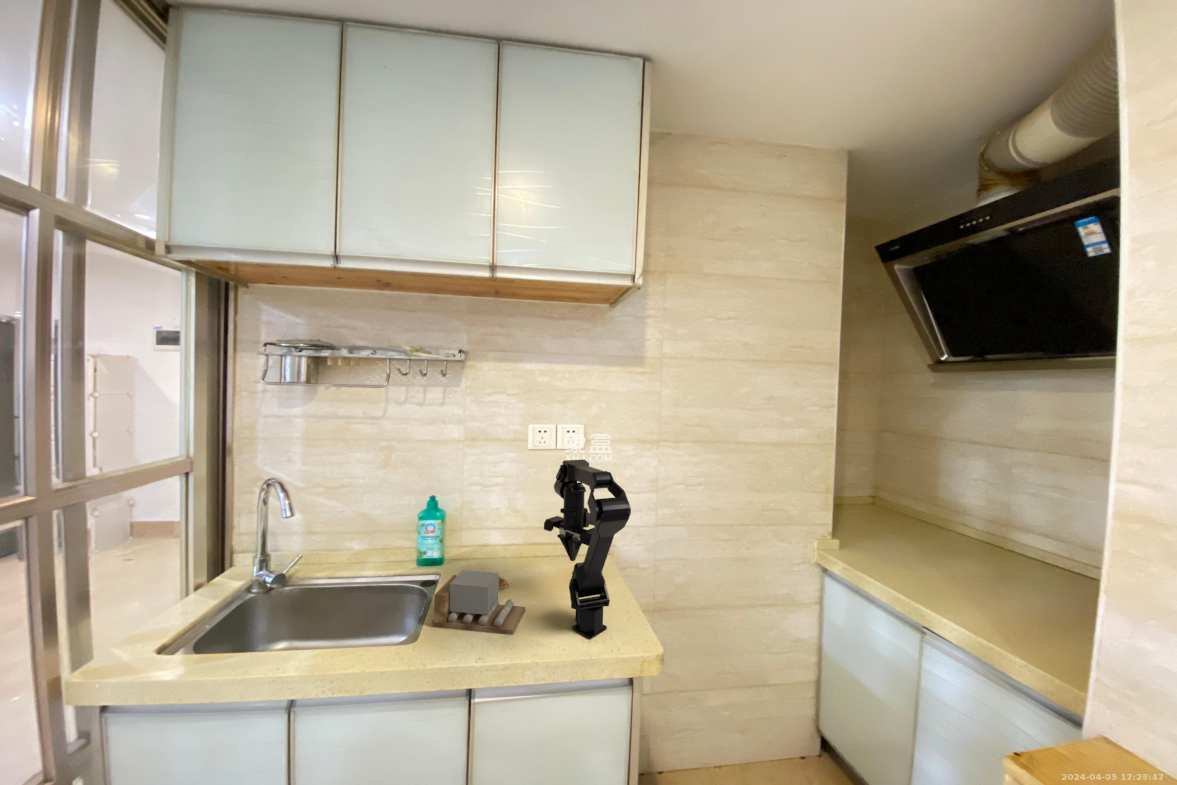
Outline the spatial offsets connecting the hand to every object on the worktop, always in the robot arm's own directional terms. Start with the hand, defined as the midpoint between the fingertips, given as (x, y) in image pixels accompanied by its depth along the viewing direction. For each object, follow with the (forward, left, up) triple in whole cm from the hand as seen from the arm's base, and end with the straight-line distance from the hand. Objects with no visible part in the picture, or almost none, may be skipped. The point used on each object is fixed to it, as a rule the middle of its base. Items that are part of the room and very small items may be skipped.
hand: (572, 560), depth 122 cm
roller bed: (+11, +22, -12) cm, 28 cm away
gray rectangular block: (+13, +23, -8) cm, 28 cm away
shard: (+22, +10, -13) cm, 27 cm away
